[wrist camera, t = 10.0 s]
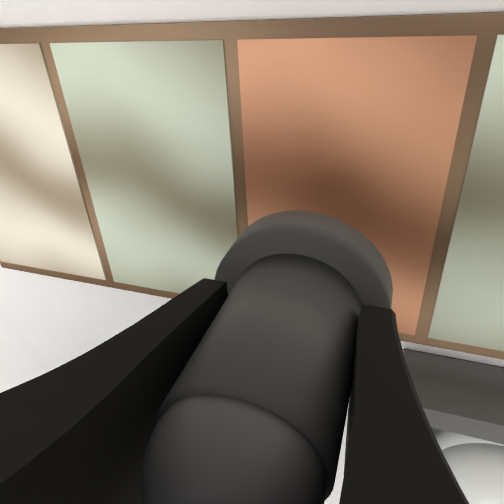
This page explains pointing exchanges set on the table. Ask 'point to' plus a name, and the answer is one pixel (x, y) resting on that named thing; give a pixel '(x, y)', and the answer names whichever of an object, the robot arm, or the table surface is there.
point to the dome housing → (459, 394)
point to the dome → (474, 466)
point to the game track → (262, 153)
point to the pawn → (269, 369)
